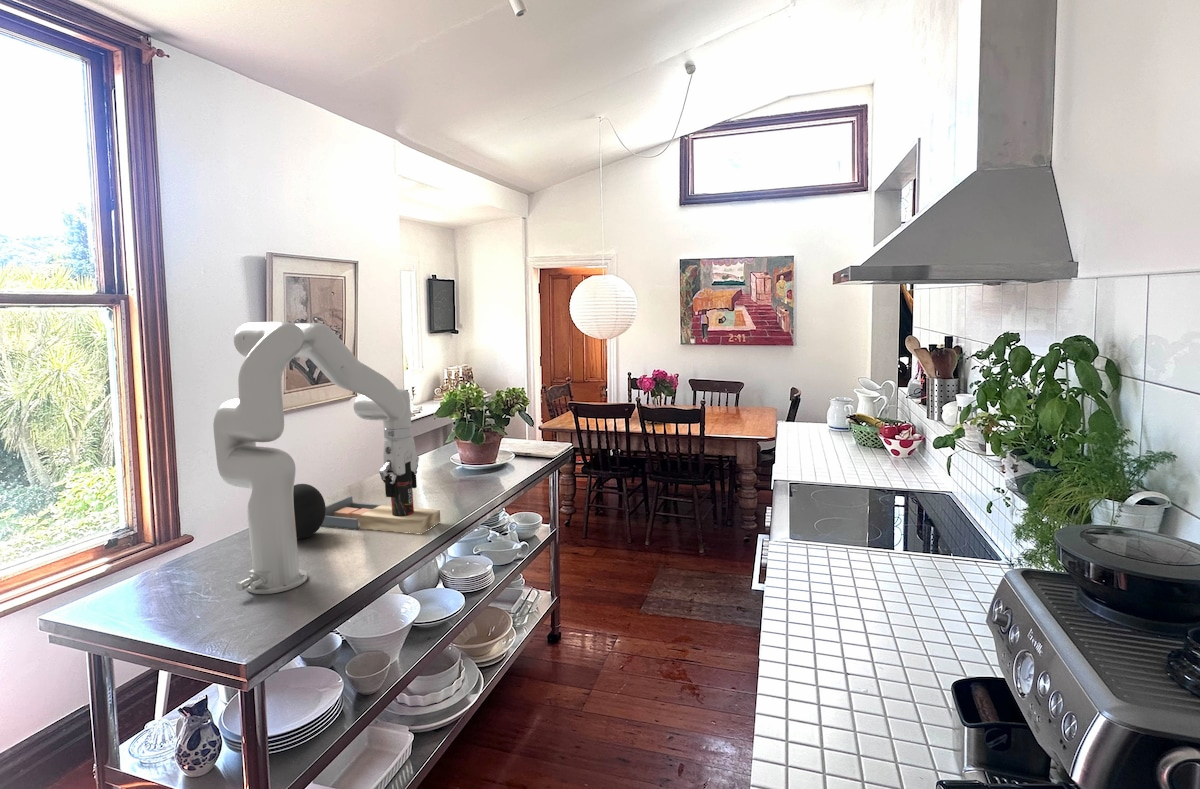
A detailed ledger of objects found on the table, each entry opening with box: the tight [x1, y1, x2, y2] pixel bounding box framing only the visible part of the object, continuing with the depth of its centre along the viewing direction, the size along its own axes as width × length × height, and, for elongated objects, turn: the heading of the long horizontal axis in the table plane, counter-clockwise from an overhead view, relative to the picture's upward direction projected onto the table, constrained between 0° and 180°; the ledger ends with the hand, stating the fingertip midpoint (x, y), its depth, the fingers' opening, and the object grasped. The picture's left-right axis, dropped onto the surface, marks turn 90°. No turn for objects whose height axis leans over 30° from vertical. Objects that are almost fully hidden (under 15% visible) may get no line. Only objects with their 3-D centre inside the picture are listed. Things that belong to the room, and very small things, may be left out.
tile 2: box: [351, 508, 372, 522], centre depth 194 cm, size 5×5×2 cm
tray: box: [321, 495, 381, 530], centre depth 195 cm, size 14×13×5 cm
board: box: [359, 504, 442, 534], centre depth 189 cm, size 10×20×4 cm, turn 72°
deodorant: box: [390, 462, 415, 516], centre depth 187 cm, size 6×6×15 cm
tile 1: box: [334, 507, 359, 518], centre depth 196 cm, size 5×5×2 cm
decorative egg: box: [293, 483, 327, 539], centre depth 181 cm, size 12×12×15 cm
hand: (401, 492), depth 188 cm, fingers open, 9 cm apart
